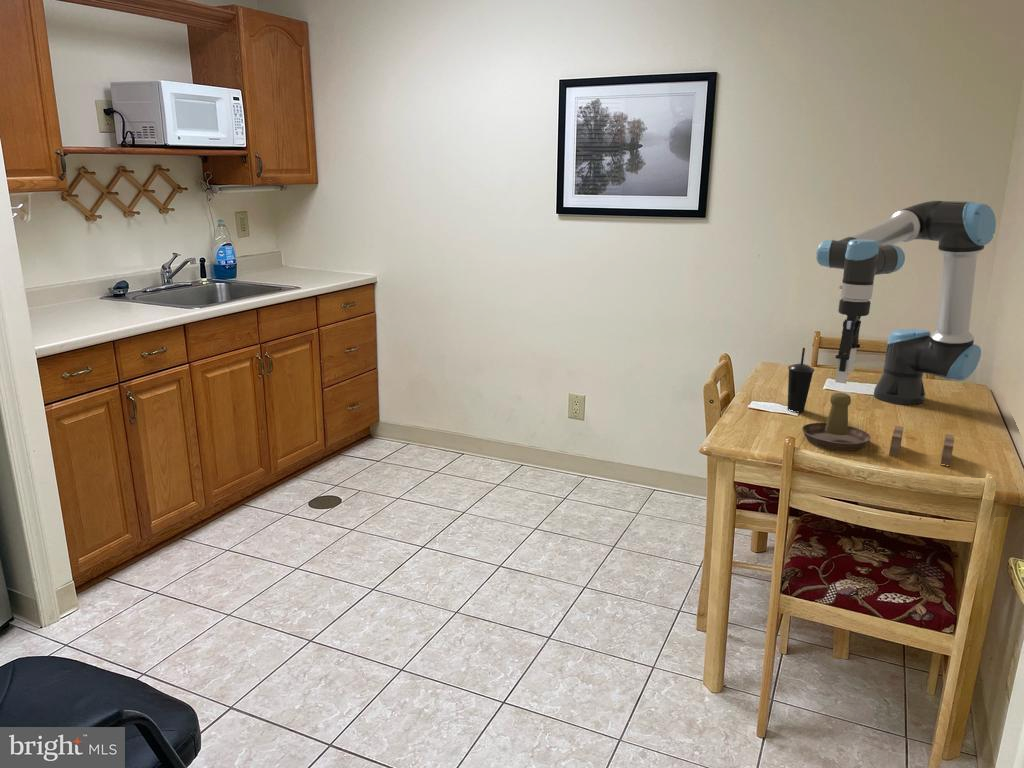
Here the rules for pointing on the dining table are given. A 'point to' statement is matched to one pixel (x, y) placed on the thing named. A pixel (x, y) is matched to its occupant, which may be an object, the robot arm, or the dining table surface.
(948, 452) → the wooden bookends
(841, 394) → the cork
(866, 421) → the dining table surface
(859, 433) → the plant saucer
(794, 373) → the drinking cup
